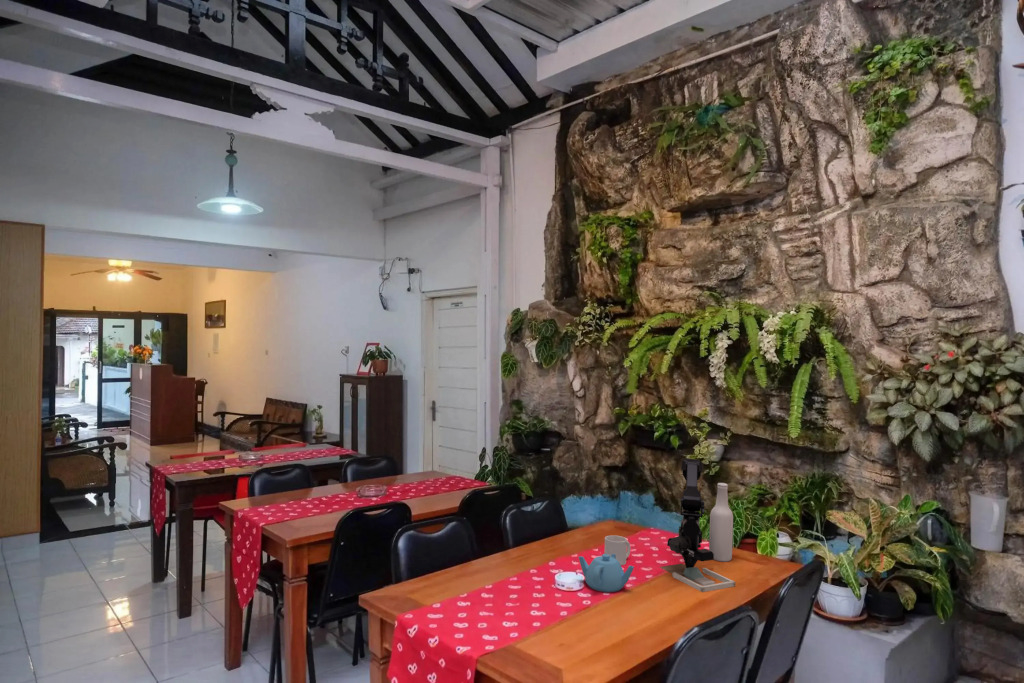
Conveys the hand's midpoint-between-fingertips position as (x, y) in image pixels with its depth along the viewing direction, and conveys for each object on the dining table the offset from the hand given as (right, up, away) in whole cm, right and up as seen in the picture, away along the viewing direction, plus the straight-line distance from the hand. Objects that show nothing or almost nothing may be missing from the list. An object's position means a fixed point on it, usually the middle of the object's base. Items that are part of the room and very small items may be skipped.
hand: (689, 572), depth 227 cm
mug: (-24, -2, +12) cm, 27 cm away
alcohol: (+19, -4, +24) cm, 31 cm away
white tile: (+3, -3, -8) cm, 9 cm away
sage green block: (+1, -1, -2) cm, 3 cm away
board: (-2, -2, +4) cm, 5 cm away
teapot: (-32, -1, -10) cm, 33 cm away
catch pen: (+3, -2, -7) cm, 8 cm away
